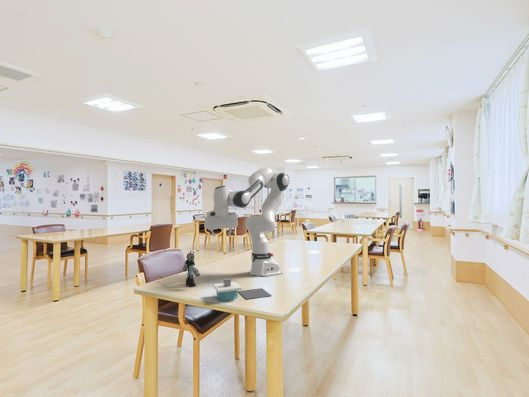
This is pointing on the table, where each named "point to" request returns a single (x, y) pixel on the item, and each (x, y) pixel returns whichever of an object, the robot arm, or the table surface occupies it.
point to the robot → (190, 269)
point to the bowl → (227, 295)
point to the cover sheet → (227, 286)
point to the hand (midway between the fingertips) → (221, 235)
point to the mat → (254, 293)
